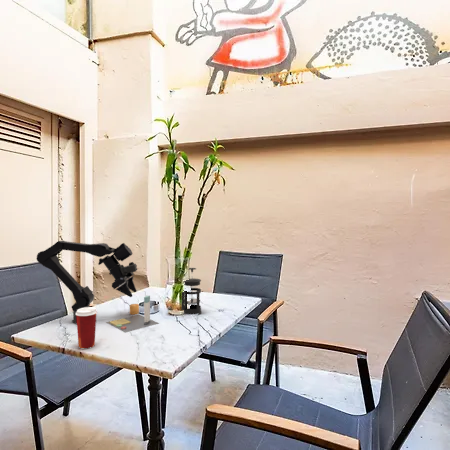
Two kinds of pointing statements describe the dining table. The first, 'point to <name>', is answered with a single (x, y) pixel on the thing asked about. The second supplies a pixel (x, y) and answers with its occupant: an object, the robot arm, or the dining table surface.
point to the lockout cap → (134, 309)
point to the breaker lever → (146, 308)
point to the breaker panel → (131, 323)
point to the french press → (193, 308)
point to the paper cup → (86, 326)
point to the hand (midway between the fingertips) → (133, 294)
